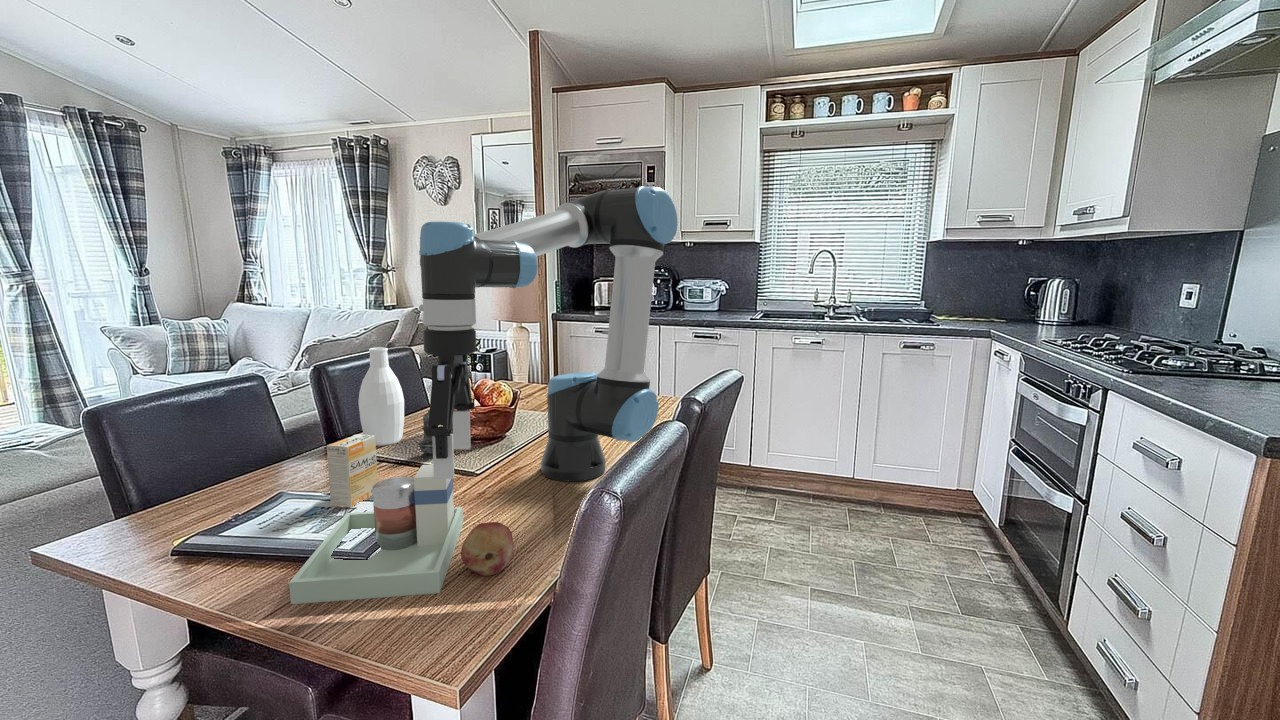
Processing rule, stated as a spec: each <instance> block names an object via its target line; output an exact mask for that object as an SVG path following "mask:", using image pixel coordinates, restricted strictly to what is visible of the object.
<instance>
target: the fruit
mask: <svg viewBox="0 0 1280 720" xmlns="http://www.w3.org/2000/svg"><path fill="white" fill-rule="evenodd" d="M513 540H514V539H513V534H512V531H511V529H510V528H509V527H508V526H507V525H505V524H503V523H501V522H499V521H493V522H492V521H490V522H481V523H478V524H476V525H475V526H474V527H473V528H472V529H471V530H470V532H469V533H468V534H467V536H466V537H465V539H464V541H463V543H462V546H461V549H460V556H461V561H462V563H463V564H464V565H465V567H466V568H468V569H469V570H471V572H472V571H473V572H474V573H475V574H477V575H480V576H483V577H484V576H489V577H490V576H493V575H496V574H498V573H500V572H501V571H503V570H504V569H505V567H507V565H508V564H509V563H510V562H511V560H512V557H513V554H514V546H515V545H514V541H513Z"/></svg>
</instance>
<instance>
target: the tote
mask: <svg viewBox="0 0 1280 720" xmlns="http://www.w3.org/2000/svg"><path fill="white" fill-rule="evenodd" d="M463 512H464V511H463V506H457V507H455V506H454V519H453V522H452V524H451V527H450V529H449V532H448V535H447V537H446V540H445V543H444V544H441V545H425V546H417V543H416V544H414V545H412V546H410V547H408V548H404V549H400V550H382V549H381V550H380V551H379V552H378V553H376V554H375V555H374V556H372V557H371V558H369V559H368V560H343V559H334V558H331V555H332V553H333V551H334V549H335V548H336V547H337V545H339V543H340V542H341V541H342V539H343V538H344V537H345V536H346V535H347V534H348V533H349V531H350V530H351V529H361V528H375V521H374V511H361V512H360V511H359V512H357V511H356V512H347V513H345V515H344V516H343V517H342V518H341V519H340V520H339V522H338V523H337V524H336V525H335V526H334V527H333V529H331V531H330V533H329V534H328V535H327V536H326V538H325V539H324V540H323V541H322V542H321V544H320V545H319V546H318V547H317V548H316V550H315V551H314V552H313V553H312V554H311V555H310V556H309V558H308V559H307V560H306V562H305V563H304V564H303V565H302V566H301V567H300V569H299V570H298V571H297V572H296V574H295V575H294V576H293V577H292V578H291V580H290V581H289V582H288V587H289V598H290V605H300V604H303V605H304V604H312V603H314V604H316V603H327V602H339V601H340V602H342V601H351V600H352V601H354V600H365V599H368V600H369V599H381V598H394V597H407V596H409V597H410V596H419V595H421V596H422V595H430V594H431V595H434V594H441V591H442V588H443V585H444V582H445V580H446V576H447V573H448V570H449V567H450V565H451V561H452V558H453V556H454V553H455V549H456V546H457V544H458V540H459V538H460V535H461V532H462V529H463V525H464V513H463Z"/></svg>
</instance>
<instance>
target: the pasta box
mask: <svg viewBox="0 0 1280 720" xmlns="http://www.w3.org/2000/svg"><path fill="white" fill-rule="evenodd" d="M413 478H414V489H415V491H414V496H415V508H416V527H417V546H425V545H441V544H444V543H445V540H446V537H447V535H448V532H449V529H450V527H451V524H452V522H453V519H454V507H455V506H454V505H455V503H454V502H455V501H454V478H453V479H434V469H433V464H422V465H421V466H420V468H419V469H418V471H417V472H416V474H415V475H414V477H413Z"/></svg>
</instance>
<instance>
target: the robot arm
mask: <svg viewBox="0 0 1280 720" xmlns="http://www.w3.org/2000/svg"><path fill="white" fill-rule="evenodd" d="M677 231H678V213H677V209H676V206H675V204H674V201H673V200H672V198H671V196H670V195H669V194H668V192H667V190H665V189H663V188H661V187H658V186H646V185H645V186H644V185H642V186H641V185H640V186H638V187H631V188H628V187H627V188H619V189H606V190H605V189H604V190H601V191H598V192H594V193H591V194H588V195H585V196H582V197H579V198H578V199H577V198H576V199H574V200H572V201H568V202H565V203H561V204H560V205H559V206H558V207H557V208H556V210H555V211H551V212H548V213H545V214H541V215H538V216H534V217H530V218H527V219H523V220H519V221H517V222H514V223H509V224H506V225H503V226H500V227H496V228H492V229H489V230H486V231H482V232H478V233H474V227H473V226H472V225H471V224H469V223H465V222H464V223H463V222H458V221H457V222H456V221H440V220H439V221H437V220H436V221H428V222H425V223H423V224H422V225H421V227H420V232H419V233H420V235H419V236H420V237H419V252H418V253H419V256H420V257H419V266H420V275H421V276H420V277H421V278H420V279H421V280H420V281H421V282H420V283H421V295H422V304H420V305H418V311H420V312H423V313H422V321H423V323H422V324H423V325H424V326H426V327H427V328H424V331H423V332H422V333H423V336H422V337H423V351H424V353H425V354H427V355H430V356H437V357H438V359H437V361H438V362H437V364H436V365H432V367H431V369H430V371H431V389H430V401H429V402H430V403H429V410H430V412H429V424H428V430H426V436H432V441H433V459H432V463H433V464H432V465H433V469H434V479H453V480H454V478H455V457H454V455H455V454H454V450H471V449H472V447H471V444H472V443H471V442H472V441H471V440H472V439H471V410H475V407H476V406H475V402H473V397H472V391H471V382H470V376H469V375H470V374H469V367H468V355H471V354H474V353H475V352H476V351H477V333H476V332H477V331H476V330H475V329H474V328H473V326H475V325H476V324H477V311H476V309H477V308H476V307H477V306H476V288H511V289H516V288H524V287H527V286H529V285H530V284H532V283H533V282H534V280H535V278H536V277H537V275H538V270H539V269H538V265H539V264H538V263H539V261H538V257H539V256H542V255H545V254H548V253H551V252H554V251H557V250H559V249H562V248H564V247H569V248H579V247H582V246H585V245H597V244H598V245H601V244H602V245H604V244H605V245H609V250H610V252H611V253H612V254H613V256H614V257H615V261H614V271H613V279H612V280H613V281H612V282H613V283H612V292H611V300H610V301H611V302H610V310H609V311H610V312H609V321H608V331H607V333H608V334H607V343H606V350H605V351H606V354H605V360H604V361H605V363H604V368H603V369H602V370H601V371H600V372H599V373H597V372H592V371H591V372H590V371H587V372H586V371H585V372H574V373H566V374H564V373H563V374H559V375H556V376H555V375H554V376H553V377H551V378H550V379H549V381H548V383H547V384H548V385H547V394H546V396H547V397H546V398H547V400H546V401H547V428H548V430H547V431H548V434H547V436H548V438H547V443H546V444H545V445H546V446H545V449H544V451H543V454H542V457H541V461H540V462H541V463H540V472H541V474H542V475H543V476H544V477H546V478H548V479H551V480H554V481H560V482H579V481H580V482H581V481H588V480H593V479H594V478H598V477H600V476H601V475H603V474H604V473H605V472H606V458H605V454H604V451H603V449H602V446H601V443H600V440H599V439H600V438H599V436H602V437H603V436H604V437H606V438H607V437H608V438H611V439H614V440H616V441H618V442H619V441H625V442H631V443H632V442H633V443H634V442H638V440H639V439H640V438H641V437H643V436H644V435H645V434H646V433H647V432H648V431H649V432H651V430H652V429H653V428H654V425H655V424H656V421H657V419H658V418H657V417H658V413H659V408H660V407H659V406H660V405H659V399H658V396H657V394H656V393H655V392H654V391H653V390H651V389H650V385H651V379H650V378H649V377H648V375H647V374H646V373H645V367H646V366H645V365H646V357H647V346H648V345H647V344H648V336H649V326H650V319H651V318H650V317H651V305H652V298H653V297H652V295H653V286H654V278H655V277H654V276H655V268H656V262H657V260H659V258H661V257H663V255H664V251H665V250H664V249H665V248H664V247H665V245H667V244H669V243H671V242H672V241H673V240H674V237H675V236H676V235H677ZM649 432H648V433H649ZM639 441H640V440H639Z"/></svg>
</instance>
